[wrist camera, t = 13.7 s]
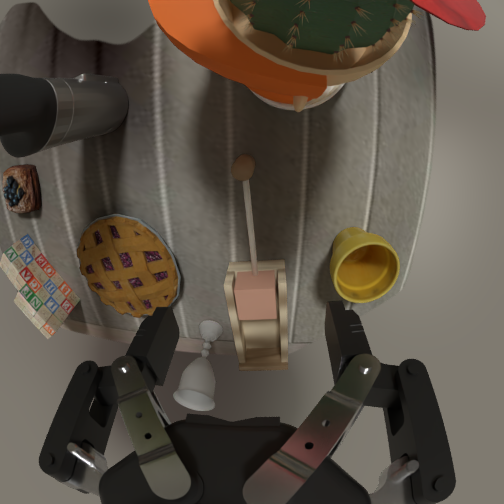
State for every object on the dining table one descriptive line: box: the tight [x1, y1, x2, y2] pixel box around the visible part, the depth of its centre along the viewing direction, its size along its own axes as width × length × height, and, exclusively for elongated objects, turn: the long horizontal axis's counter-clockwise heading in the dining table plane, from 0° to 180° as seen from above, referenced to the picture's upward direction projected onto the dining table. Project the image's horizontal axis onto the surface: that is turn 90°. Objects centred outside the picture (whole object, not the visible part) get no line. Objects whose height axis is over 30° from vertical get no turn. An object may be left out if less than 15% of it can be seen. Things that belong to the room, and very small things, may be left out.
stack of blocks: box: [0, 234, 80, 339], centre depth 47 cm, size 21×6×12 cm, turn 34°
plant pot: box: [330, 227, 400, 303], centre depth 40 cm, size 10×10×10 cm
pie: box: [77, 214, 181, 318], centre depth 46 cm, size 22×22×5 cm
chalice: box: [173, 320, 223, 411], centre depth 47 cm, size 7×7×18 cm
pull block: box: [231, 154, 277, 320], centre depth 39 cm, size 24×6×6 cm, turn 5°
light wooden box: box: [224, 259, 288, 371], centre depth 48 cm, size 20×9×8 cm, turn 5°
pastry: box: [3, 164, 41, 213], centre depth 39 cm, size 11×12×6 cm
